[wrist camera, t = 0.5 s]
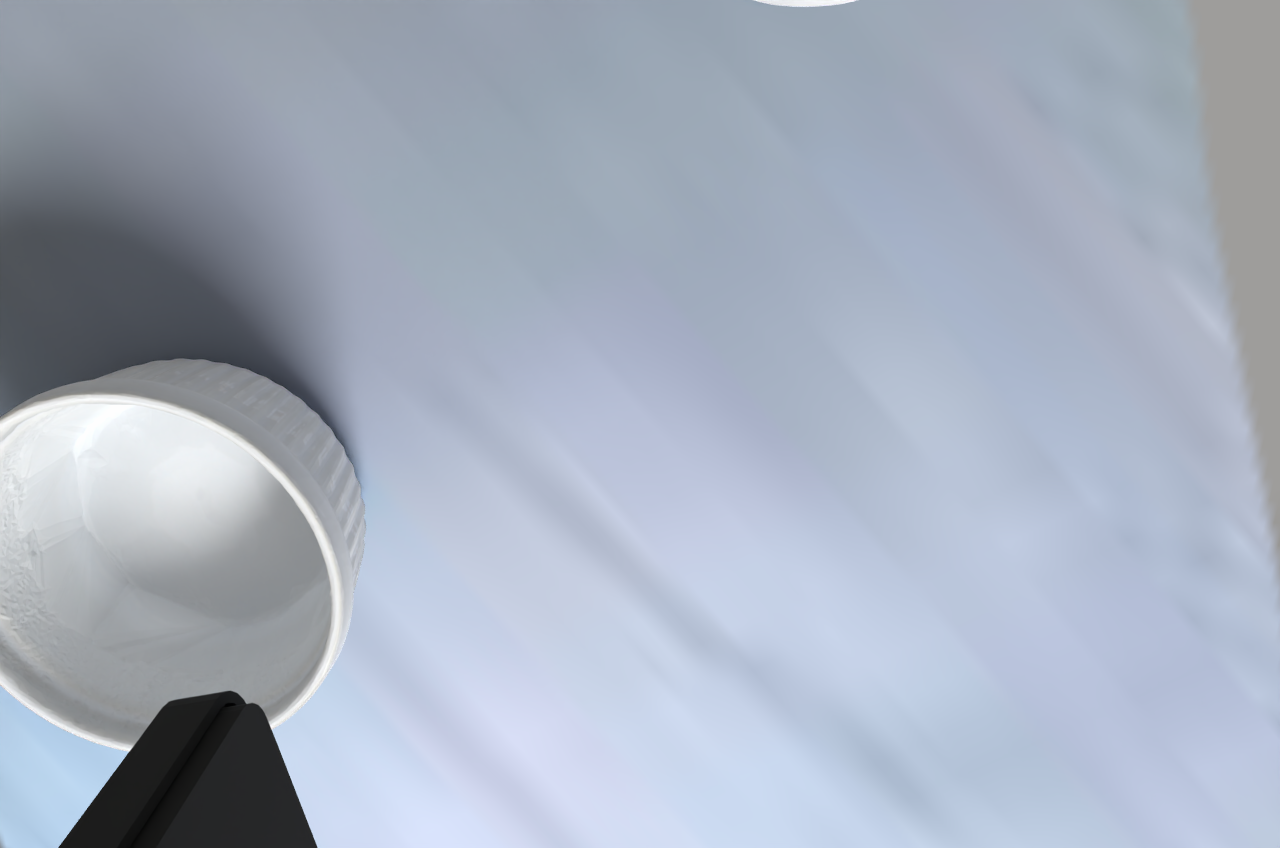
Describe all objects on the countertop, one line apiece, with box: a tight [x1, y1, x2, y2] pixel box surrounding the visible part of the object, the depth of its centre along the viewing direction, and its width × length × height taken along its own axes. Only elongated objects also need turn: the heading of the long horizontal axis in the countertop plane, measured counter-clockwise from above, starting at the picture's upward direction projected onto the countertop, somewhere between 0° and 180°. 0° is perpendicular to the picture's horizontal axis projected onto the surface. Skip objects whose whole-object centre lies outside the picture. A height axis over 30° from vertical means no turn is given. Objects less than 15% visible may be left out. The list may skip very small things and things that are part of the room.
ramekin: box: [0, 358, 366, 752], centre depth 40 cm, size 13×13×7 cm
